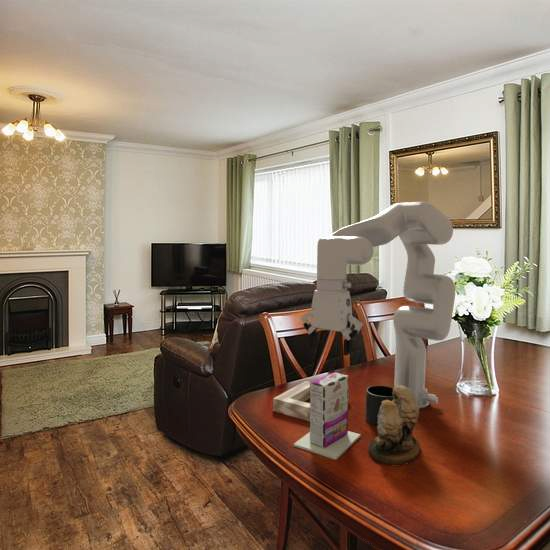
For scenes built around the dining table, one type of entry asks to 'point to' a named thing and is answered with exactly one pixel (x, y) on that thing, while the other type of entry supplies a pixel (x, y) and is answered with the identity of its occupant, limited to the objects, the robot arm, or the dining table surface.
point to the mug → (376, 401)
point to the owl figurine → (396, 429)
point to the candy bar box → (328, 409)
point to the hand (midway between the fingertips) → (330, 351)
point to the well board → (294, 401)
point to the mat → (331, 450)
